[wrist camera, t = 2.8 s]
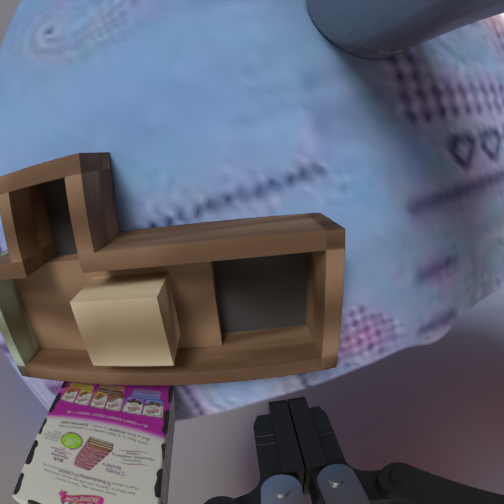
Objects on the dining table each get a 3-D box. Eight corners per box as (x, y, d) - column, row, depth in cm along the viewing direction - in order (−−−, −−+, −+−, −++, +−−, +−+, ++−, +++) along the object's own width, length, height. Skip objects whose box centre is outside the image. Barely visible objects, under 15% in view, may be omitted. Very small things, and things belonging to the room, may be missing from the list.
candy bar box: (82, 399, 26) (36, 519, 10) (70, 366, 24) (7, 494, 9) (179, 414, 27) (166, 556, 12) (175, 381, 26) (155, 542, 10)
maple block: (92, 277, 20) (69, 302, 16) (168, 271, 20) (156, 297, 16) (109, 335, 21) (93, 365, 18) (180, 332, 22) (173, 365, 18)
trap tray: (-1, 182, 18) (-38, 191, 14) (316, 131, 20) (342, 126, 15) (44, 346, 24) (22, 375, 19) (318, 331, 25) (336, 367, 20)
